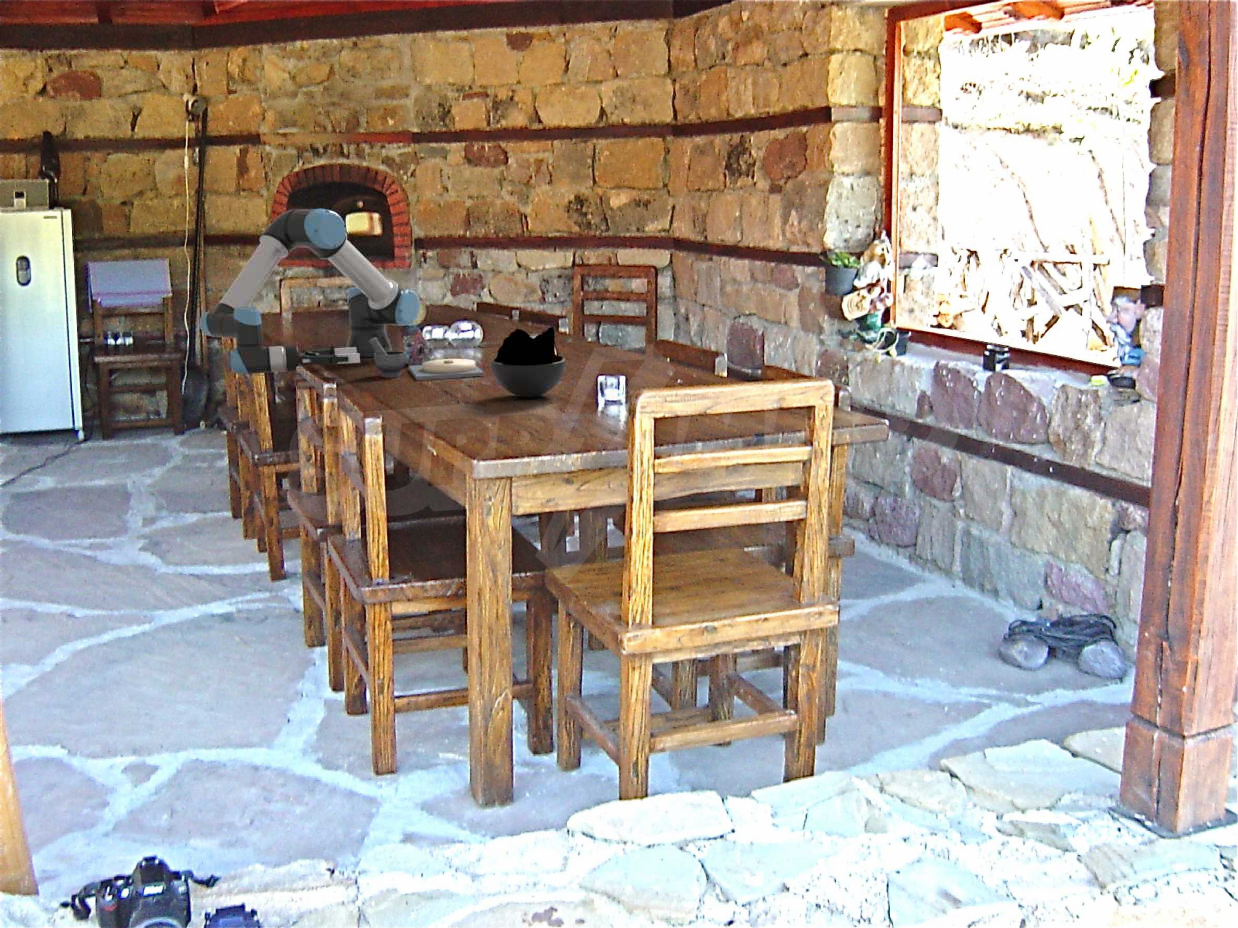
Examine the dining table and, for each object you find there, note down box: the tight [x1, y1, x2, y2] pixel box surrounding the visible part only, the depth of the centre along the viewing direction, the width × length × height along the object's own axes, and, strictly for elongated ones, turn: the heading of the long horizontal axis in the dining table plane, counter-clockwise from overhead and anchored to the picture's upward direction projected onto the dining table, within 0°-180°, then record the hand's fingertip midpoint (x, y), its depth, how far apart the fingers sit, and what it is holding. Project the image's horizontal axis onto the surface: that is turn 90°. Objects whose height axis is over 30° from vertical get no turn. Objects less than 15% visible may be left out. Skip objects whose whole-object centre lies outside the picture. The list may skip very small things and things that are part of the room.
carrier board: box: [408, 358, 485, 381], centre depth 401 cm, size 22×20×4 cm
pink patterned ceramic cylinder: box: [402, 329, 437, 366], centre depth 419 cm, size 11×11×12 cm
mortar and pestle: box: [369, 337, 407, 378], centre depth 397 cm, size 11×9×12 cm
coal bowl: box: [490, 326, 566, 398], centre depth 355 cm, size 20×20×19 cm
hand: (358, 354), depth 394 cm, fingers open, 13 cm apart
